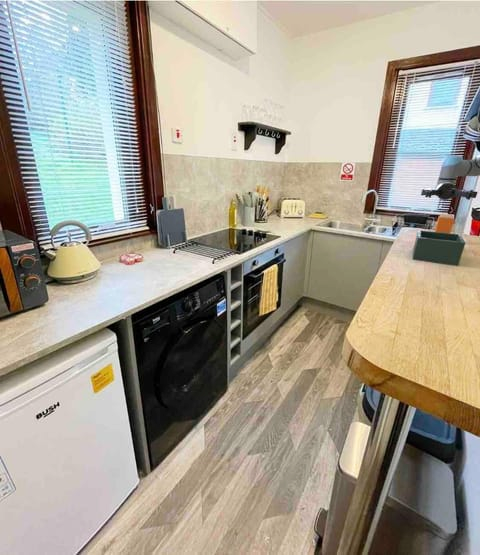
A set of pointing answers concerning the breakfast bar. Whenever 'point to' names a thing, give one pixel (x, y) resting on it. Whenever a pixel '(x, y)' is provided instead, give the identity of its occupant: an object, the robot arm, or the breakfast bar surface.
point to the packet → (444, 223)
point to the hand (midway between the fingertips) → (449, 195)
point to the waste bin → (438, 247)
